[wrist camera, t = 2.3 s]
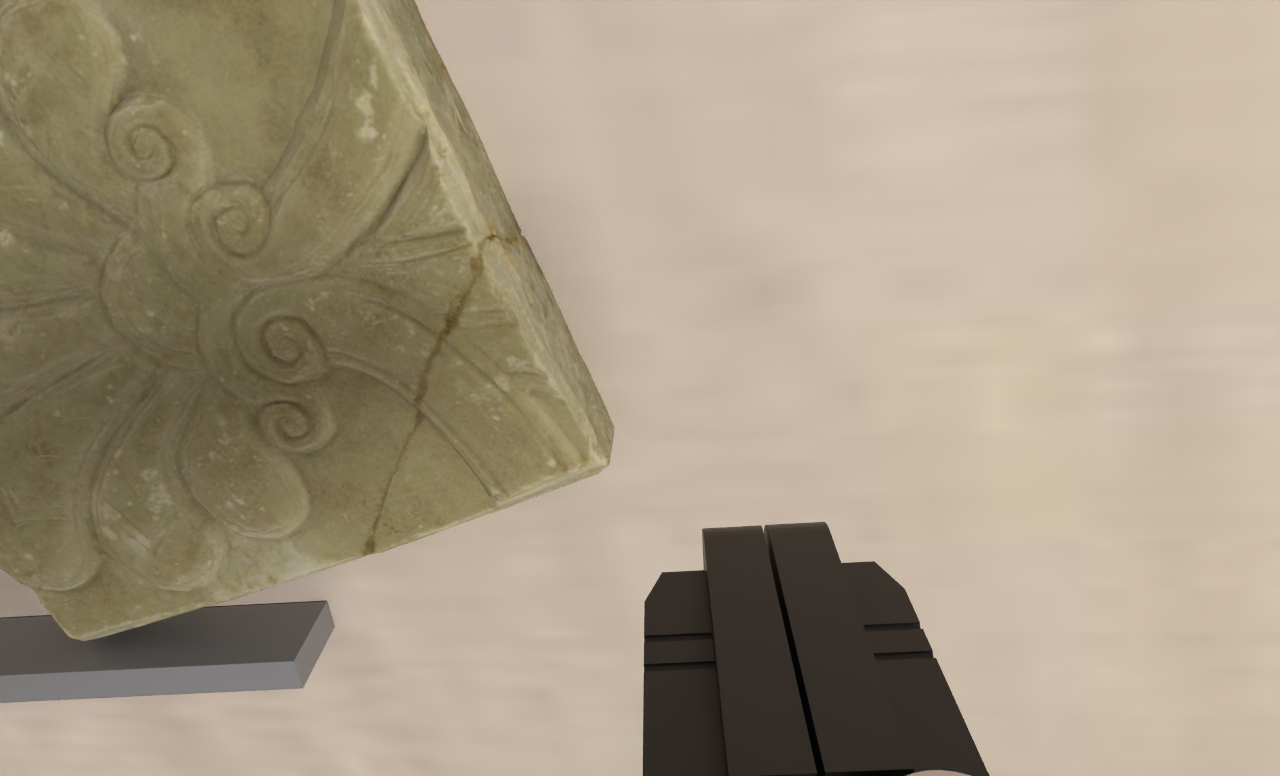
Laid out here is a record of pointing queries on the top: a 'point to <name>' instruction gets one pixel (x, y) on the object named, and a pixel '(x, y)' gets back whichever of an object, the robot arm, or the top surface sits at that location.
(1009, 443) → the top surface
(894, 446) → the top surface
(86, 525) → the decorative tile
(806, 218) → the top surface
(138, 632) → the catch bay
